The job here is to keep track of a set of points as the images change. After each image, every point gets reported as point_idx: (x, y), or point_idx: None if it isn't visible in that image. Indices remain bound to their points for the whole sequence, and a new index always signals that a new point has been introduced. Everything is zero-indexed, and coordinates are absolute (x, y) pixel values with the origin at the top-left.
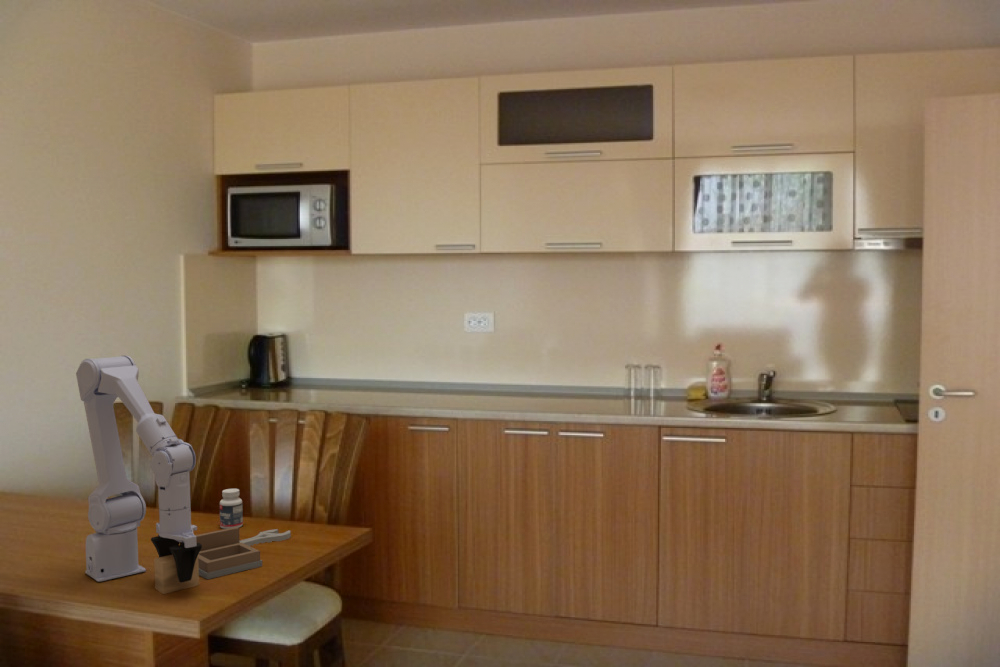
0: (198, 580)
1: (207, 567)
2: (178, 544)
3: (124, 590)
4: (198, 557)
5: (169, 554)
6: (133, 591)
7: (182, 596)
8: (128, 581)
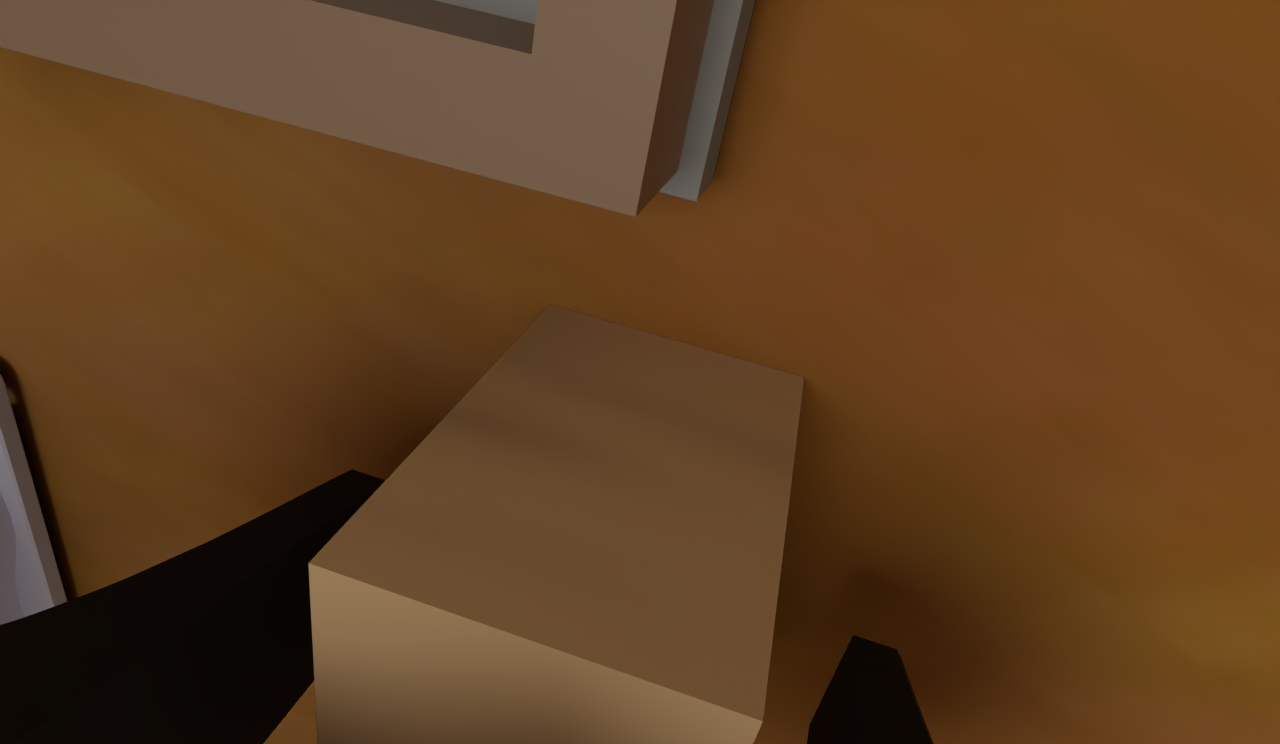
0: (798, 416)
1: (655, 191)
2: (41, 727)
3: None
4: (194, 72)
5: (209, 708)
6: None
7: (936, 678)
8: None
